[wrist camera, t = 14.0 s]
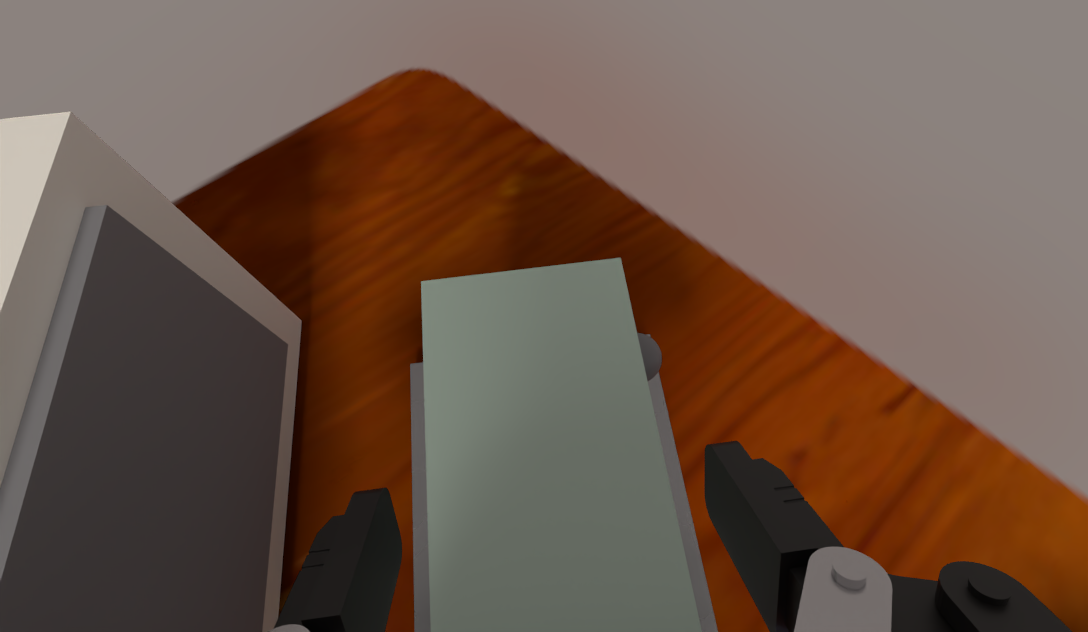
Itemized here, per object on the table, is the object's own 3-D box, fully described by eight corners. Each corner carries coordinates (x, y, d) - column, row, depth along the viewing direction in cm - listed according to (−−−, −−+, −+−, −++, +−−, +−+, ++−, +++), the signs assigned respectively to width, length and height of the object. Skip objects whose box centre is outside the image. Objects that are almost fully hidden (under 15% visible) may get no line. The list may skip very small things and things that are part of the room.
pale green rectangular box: (504, 619, 17) (432, 714, 7) (487, 414, 20) (421, 281, 10) (651, 598, 17) (778, 663, 7) (613, 398, 20) (669, 251, 10)
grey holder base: (422, 715, 17) (387, 758, 13) (415, 370, 22) (388, 336, 18) (720, 671, 17) (762, 702, 14) (646, 341, 22) (663, 302, 19)
